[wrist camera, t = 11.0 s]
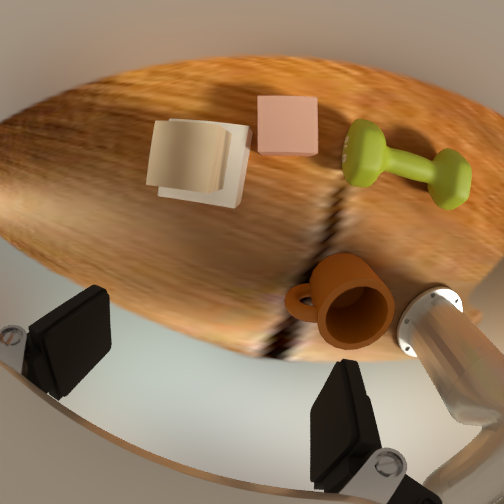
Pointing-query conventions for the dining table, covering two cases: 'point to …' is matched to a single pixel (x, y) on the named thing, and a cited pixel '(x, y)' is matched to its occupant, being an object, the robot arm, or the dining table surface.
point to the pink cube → (287, 125)
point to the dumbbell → (404, 165)
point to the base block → (233, 174)
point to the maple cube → (188, 156)
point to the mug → (344, 302)
